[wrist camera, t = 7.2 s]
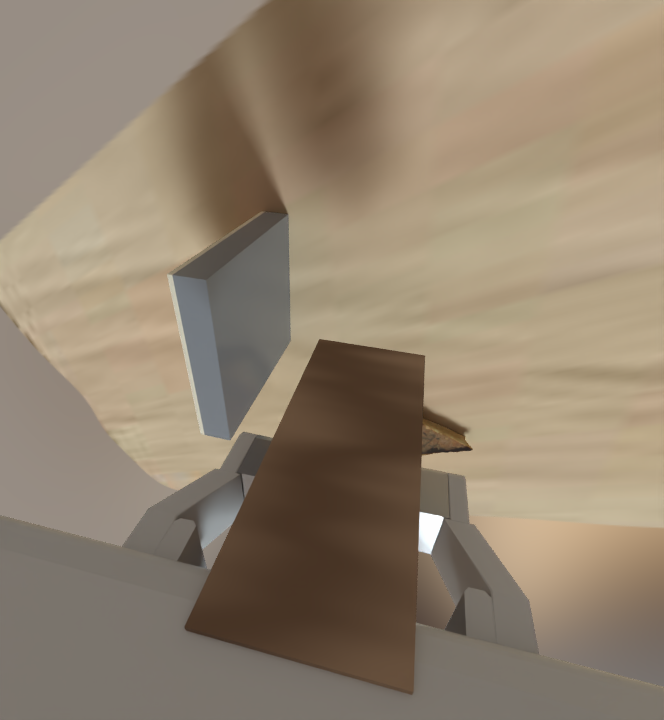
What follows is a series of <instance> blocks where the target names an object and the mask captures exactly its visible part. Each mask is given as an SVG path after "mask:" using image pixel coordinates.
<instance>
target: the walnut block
mask: <svg viewBox="0 0 664 720" xmlns="http://www.w3.org/2000/svg"><path fill="white" fill-rule="evenodd" d="M424 369H425V356H424V355H418V354H411V353H405V352H399V351H392V350H386V349H379V348H373V347H367V346H360V345H354V344H347V343H341V342H335V341H328V340H322V339H319V341H318V344H317V346H316V348H315V350H314V352H313V354H312V356H311V358H310V361H309V363H308V365H307V367H306V369H305V371H304V373H303V375H302V378H301V380H300V382H299V384H298V386H297V388H296V390H295V392H294V395H293V397H292V399H291V401H290V403H289V405H288V407H287V409H286V412H285V414H284V416H283V418H282V420H281V422H280V424H279V426H278V429H277V431H276V433H275V435H274V437H273V439H272V441H271V443H270V446H269V448H268V450H267V452H266V454H265V456H264V458H263V460H262V463H261V465H260V467H259V469H258V471H257V473H256V475H255V477H254V480H253V482H252V484H251V486H250V488H249V490H248V492H247V494H246V497H245V499H244V501H243V503H242V505H241V507H240V509H239V512H238V514H237V516H236V518H235V520H234V522H233V524H232V526H231V529H230V531H229V533H228V535H227V537H226V539H225V541H224V544H223V546H222V548H221V550H220V552H219V554H218V556H217V558H216V560H215V563H214V565H213V567H212V569H211V571H210V573H209V575H208V577H207V580H206V582H205V584H204V586H203V588H202V590H201V592H200V594H199V597H198V599H197V601H196V603H195V605H194V607H193V609H192V611H191V614H190V616H189V618H188V620H187V622H186V624H185V626H184V627H185V630H186V631H189V632H193V633H196V634H200V635H203V636H207V637H210V638H214V639H217V640H221V641H224V642H228V643H231V644H235V645H238V646H242V647H245V648H249V649H252V650H256V651H259V652H263V653H266V654H270V655H273V656H277V657H280V658H284V659H287V660H291V661H294V662H298V663H301V664H305V665H308V666H312V667H315V668H319V669H322V670H326V671H330V672H333V673H337V674H340V675H344V676H347V677H351V678H354V679H358V680H361V681H365V682H368V683H372V684H375V685H379V686H382V687H386V688H389V689H393V690H396V691H400V692H403V693H407V694H410V695H412V694H413V692H414V664H415V634H416V604H417V603H416V602H417V575H418V546H419V516H420V487H421V457H422V428H423V398H424Z"/></svg>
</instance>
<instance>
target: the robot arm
mask: <svg viewBox="0 0 664 720" xmlns="http://www.w3.org/2000/svg"><path fill="white" fill-rule="evenodd" d="M272 439H273V438H270V437H266V436H261V435H256V434H252V433H247V432H242V433H241V434H240V435H239V437H238V439H237V440H236V442H235V444H234V446H233V447H232V449H231V451H230V452H229V454H228V456H227V458H226V459H225V461H224V463H223V465H222V466H221V468H220V469H214V470H212V471H211V472H209V473H207V474H206V475H204V476H202V477H201V478H199V479H197V480H196V481H194V482H192V483H190V484H189V485H187V486H185V487H184V488H182V489H180V490H179V491H177V492H175V493H174V494H172V495H171V496H169V497H167V498H166V499H164V500H162V501H160V502H159V503H157V504H155V505H154V506H152V507H150V508H149V509H148V510H147V511H146V513H145V514H144V516H143V517H142V518H141V520H140V521H139V523H138V524H137V526H136V527H135V529H134V530H133V531H132V533H131V534H130V536H129V537H128V539H127V540H126V541H125V543H124V544H123V546H122V547H121V546H117V545H113V544H109V543H106V542H102V541H98V540H94V539H90V538H86V537H82V536H79V535H75V534H71V533H67V532H63V531H59V530H55V529H51V528H47V527H44V526H40V525H36V524H32V523H28V522H25V521H21V520H17V519H13V518H9V517H5V516H2V515H0V720H664V687H662V686H658V685H654V684H651V683H647V682H643V681H639V680H635V679H631V678H627V677H623V676H620V675H615V674H612V673H608V672H604V671H600V670H596V669H592V668H588V667H585V666H580V665H577V664H573V663H569V662H565V661H562V660H558V659H554V658H550V657H546V656H542V655H539V651H538V646H537V640H536V635H535V629H534V624H533V619H532V613H531V608H530V604H529V600H528V599H527V597H526V596H525V594H524V593H523V592H522V590H521V589H520V587H519V586H518V585H517V583H516V582H515V580H514V579H513V578H512V576H511V575H510V573H509V572H508V571H507V569H506V568H505V566H504V565H503V564H502V562H501V561H500V560H499V558H498V557H497V555H496V554H495V553H494V551H493V550H492V548H491V547H490V546H489V544H488V543H487V541H486V540H485V539H484V537H483V536H482V535H481V533H480V532H479V530H478V529H477V528H476V526H475V525H473V524H469V512H468V501H467V489H466V479H465V477H464V476H462V475H457V474H452V473H446V472H442V471H437V470H432V469H426V468H421V487H420V516H419V546H418V551H421V552H425V553H428V554H431V557H432V559H433V561H434V563H435V565H436V567H437V569H438V571H439V573H440V575H441V577H442V579H443V581H444V583H445V585H446V587H447V589H448V591H449V593H450V595H451V598H452V599H453V602H454V604H455V606H456V608H455V611H454V612H453V615H452V616H451V618H450V620H449V622H448V624H447V626H446V628H445V630H442V629H438V628H434V627H430V626H426V625H422V624H418V623H416V634H415V664H414V692H413V694H412V695H410V694H407V693H403V692H400V691H396V690H393V689H389V688H386V687H382V686H379V685H375V684H372V683H368V682H365V681H361V680H358V679H354V678H351V677H347V676H344V675H340V674H337V673H333V672H330V671H326V670H322V669H319V668H315V667H312V666H308V665H305V664H301V663H298V662H294V661H291V660H287V659H284V658H280V657H277V656H273V655H270V654H266V653H263V652H259V651H256V650H252V649H249V648H245V647H242V646H238V645H235V644H231V643H228V642H224V641H221V640H217V639H214V638H210V637H207V636H203V635H200V634H196V633H193V632H189V631H186V630H185V627H184V626H185V624H186V622H187V620H188V618H189V616H190V614H191V611H192V609H193V607H194V605H195V603H196V601H197V599H198V597H199V594H200V592H201V590H202V588H203V586H204V584H205V582H206V580H207V577H208V575H209V573H210V571H211V570H209V569H207V567H206V563H205V559H204V555H203V551H202V549H203V548H205V547H206V546H207V545H208V544H209V543H210V542H212V541H213V540H214V539H215V538H216V537H217V536H218V535H220V534H221V533H222V532H223V531H225V530H226V529H227V528H228V527H229V526H230V525H232V524H233V522H234V520H235V518H236V516H237V514H238V512H239V509H240V507H241V505H242V503H243V501H244V499H245V497H246V494H247V492H248V490H249V488H250V486H251V484H252V482H253V480H254V477H255V475H256V473H257V471H258V469H259V467H260V465H261V463H262V460H263V458H264V456H265V454H266V452H267V450H268V448H269V446H270V443H271V441H272Z"/></svg>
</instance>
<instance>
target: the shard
mask: <svg viewBox="0 0 664 720" xmlns="http://www.w3.org/2000/svg"><path fill="white" fill-rule="evenodd" d="M471 450H472V448H471V447H470V446H469V445H468V443H467V442H466V441H465V436H463V435H461V434H458V433H456V432H454V431H452V430H450V429H448V428H446V427H443V426H441V425H438V424H436V423H433V422H431V421H429V420H426V419H424V418H423V428H422V455H428V454H433V453H441V452H460V451H471Z"/></svg>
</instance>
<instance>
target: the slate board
mask: <svg viewBox="0 0 664 720" xmlns="http://www.w3.org/2000/svg"><path fill="white" fill-rule="evenodd" d="M167 276H168V281H169V286H170V291H171V295H172V300H173V305H174V310H175V314H176V319H177V324H178V329H179V333H180V338H181V343H182V347H183V352H184V357H185V362H186V366H187V371H188V376H189V381H190V385H191V390H192V395H193V400H194V404H195V409H196V414H197V419H198V423H199V428H200V433H201V434H203V435H208V436H213V437H217V438H222V439H226V440H231V438H232V437H233V435H234V433H235V432H236V430H237V428H238V427H239V425H240V424H241V422H242V420H243V419H244V417H245V415H246V414H247V412H248V410H249V409H250V407H251V405H252V404H253V402H254V400H255V399H256V397H257V395H258V394H259V392H260V391H261V389H262V387H263V386H264V384H265V382H266V381H267V379H268V377H269V376H270V374H271V372H272V371H273V369H274V367H275V366H276V364H277V363H278V361H279V359H280V358H281V356H282V354H283V353H284V351H285V349H286V348H287V346H288V344H289V343H290V341H291V336H290V280H289V223H288V214H282V213H273V212H264V211H261V212H260V213H258V214H257V215H255V216H254V217H252V218H251V219H249V220H248V221H246V222H245V223H243V224H242V225H240V226H239V227H237V228H236V229H234V230H233V231H231V232H230V233H228V234H227V235H225V236H224V237H222V238H221V239H219V240H218V241H216V242H215V243H213V244H212V245H210V246H209V247H207V248H206V249H204V250H203V251H201V252H200V253H198V254H197V255H195V256H194V257H192V258H191V259H189V260H188V261H186V262H185V263H183V264H182V265H180V266H179V267H177V268H176V269H174V270H173V271H171V272H170V273H168V274H167Z"/></svg>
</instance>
